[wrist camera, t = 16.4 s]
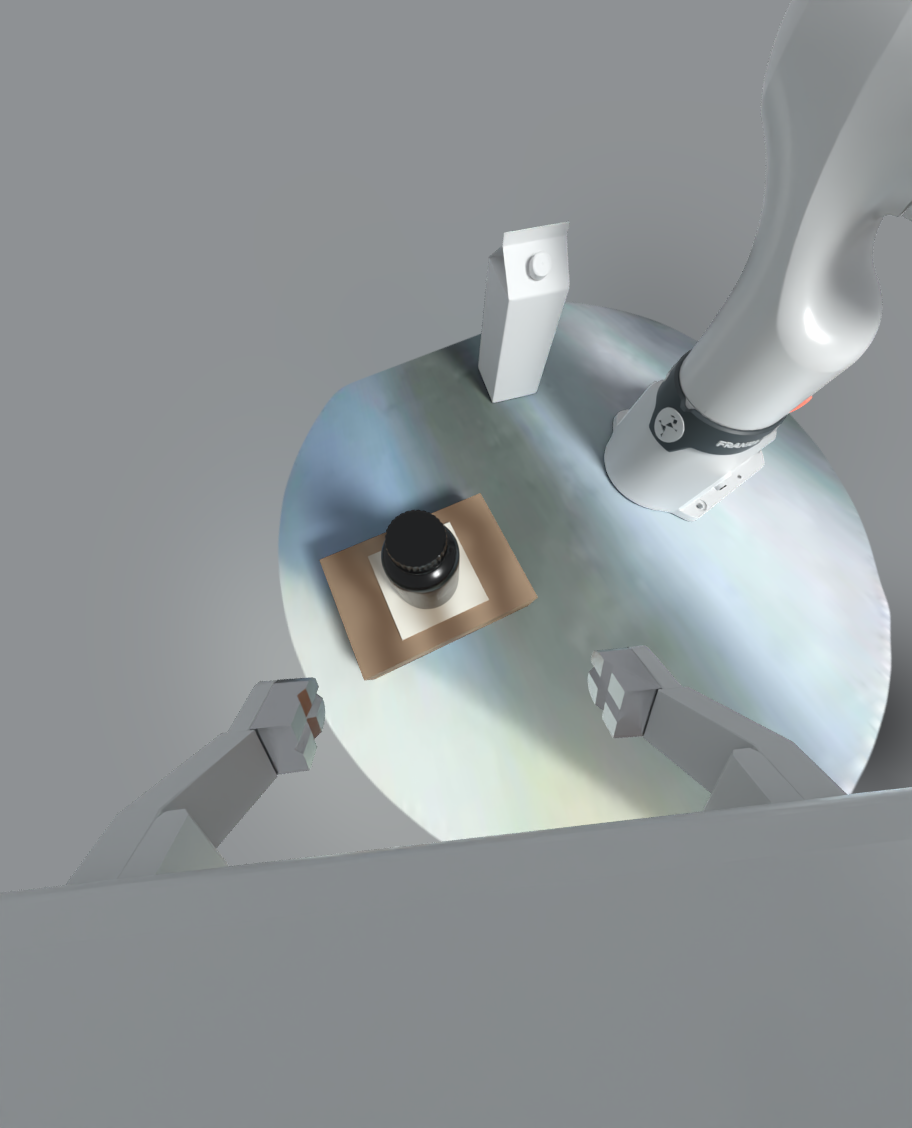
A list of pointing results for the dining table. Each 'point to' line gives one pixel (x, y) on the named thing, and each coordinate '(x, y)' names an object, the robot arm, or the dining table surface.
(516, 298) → the milk carton
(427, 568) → the supplement bottle
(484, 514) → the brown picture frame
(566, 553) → the dining table surface
